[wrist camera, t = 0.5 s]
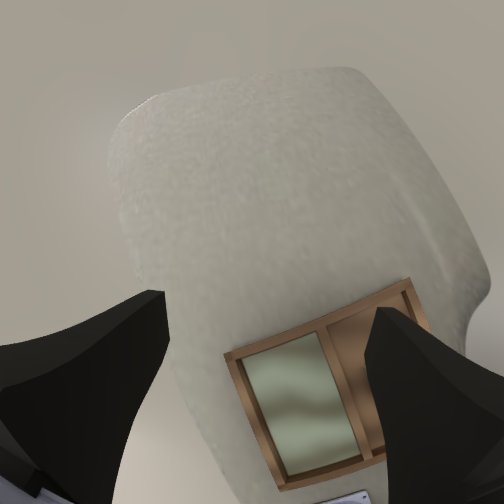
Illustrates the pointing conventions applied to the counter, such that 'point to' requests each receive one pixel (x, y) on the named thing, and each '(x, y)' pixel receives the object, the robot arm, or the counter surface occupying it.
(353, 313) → the sorting tray
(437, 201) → the counter surface
